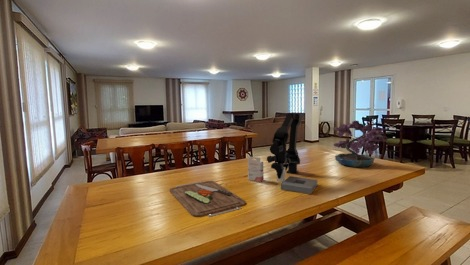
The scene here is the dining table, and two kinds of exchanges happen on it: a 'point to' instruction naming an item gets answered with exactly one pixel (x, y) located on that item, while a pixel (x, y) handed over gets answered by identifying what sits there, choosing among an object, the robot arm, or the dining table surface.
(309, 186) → the socket block
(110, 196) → the dining table surface
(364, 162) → the bonsai tree
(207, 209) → the chopping board
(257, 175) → the ink cartridge box
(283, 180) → the plug peg
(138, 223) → the dining table surface
